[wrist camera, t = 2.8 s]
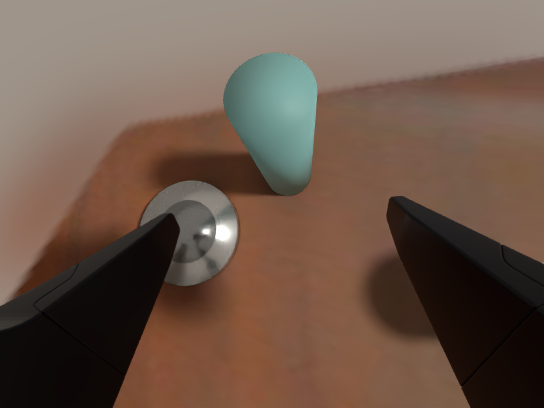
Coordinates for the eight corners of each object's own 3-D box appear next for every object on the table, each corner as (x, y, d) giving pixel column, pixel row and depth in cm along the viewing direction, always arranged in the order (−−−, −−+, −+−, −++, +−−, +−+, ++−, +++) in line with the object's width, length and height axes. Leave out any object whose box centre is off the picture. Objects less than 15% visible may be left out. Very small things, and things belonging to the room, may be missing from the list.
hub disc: (200, 306, 21) (194, 309, 20) (127, 245, 23) (118, 245, 22) (259, 216, 22) (257, 215, 21) (183, 166, 24) (178, 162, 23)
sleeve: (294, 204, 21) (282, 155, 10) (257, 181, 22) (205, 111, 11) (319, 166, 22) (335, 75, 10) (281, 145, 23) (256, 39, 11)
